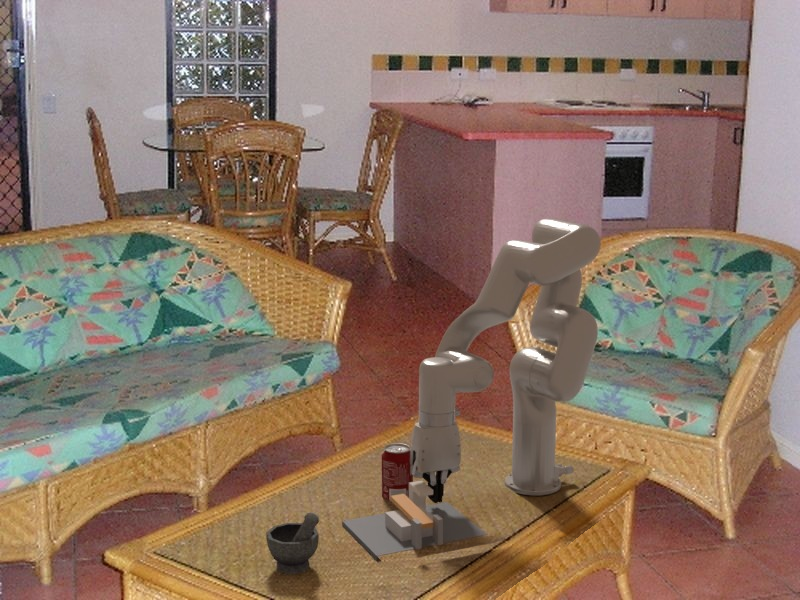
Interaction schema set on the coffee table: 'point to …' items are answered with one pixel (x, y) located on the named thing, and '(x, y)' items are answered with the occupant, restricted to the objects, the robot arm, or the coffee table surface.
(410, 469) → the soda can
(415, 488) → the block
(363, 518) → the board
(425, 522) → the strap
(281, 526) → the mortar and pestle
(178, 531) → the coffee table surface
